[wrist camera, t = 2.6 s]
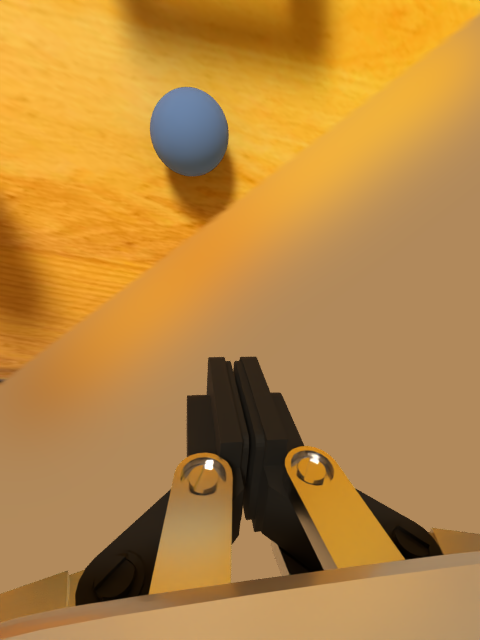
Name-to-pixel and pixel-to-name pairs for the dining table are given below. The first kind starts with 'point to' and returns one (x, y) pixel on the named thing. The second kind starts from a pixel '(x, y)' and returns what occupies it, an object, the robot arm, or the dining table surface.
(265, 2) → the dining table surface
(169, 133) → the ball
